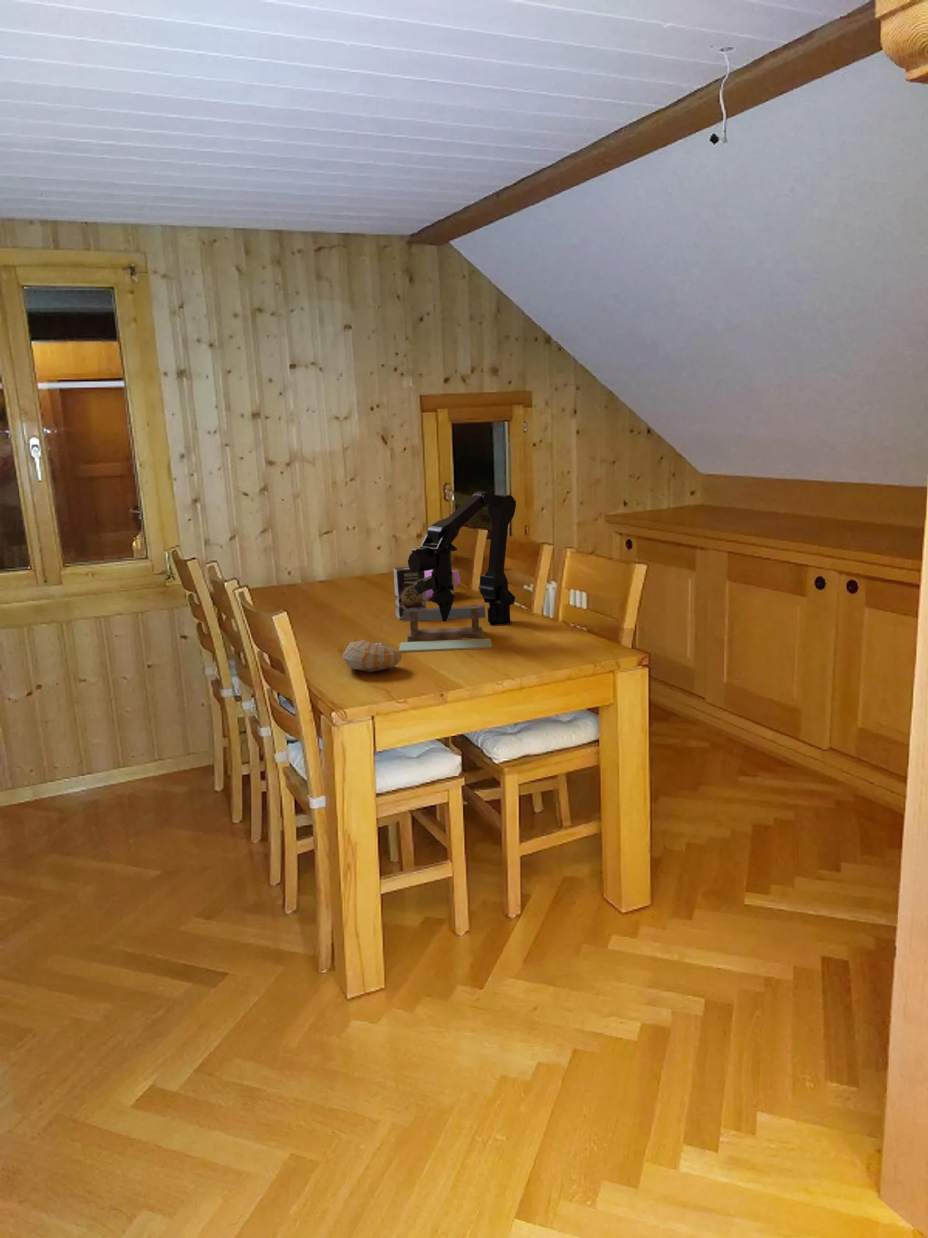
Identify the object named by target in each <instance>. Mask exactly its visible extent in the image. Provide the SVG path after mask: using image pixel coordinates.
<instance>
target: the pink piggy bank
mask: <svg viewBox="0 0 928 1238" xmlns="http://www.w3.org/2000/svg"><path fill="white" fill-rule="evenodd" d="M424 573H425V578H426V577H429V576H432V575H431V573H432V570H428V571H424ZM452 575H453V579H454V580H453V585H454V588H455V587H457V586H458V585H459V584H460V583H461V578H460V575H459V570H458V569H454V570H453V569H452ZM451 591H452V590H451ZM433 593H434V592H433V591H432V589H430V590H427V591H425V596H426V601H429V600H431V599H432V594H433Z"/></svg>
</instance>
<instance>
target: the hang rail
mask: <svg viewBox="0 0 928 1238" xmlns="http://www.w3.org/2000/svg"><path fill="white" fill-rule="evenodd" d="M474 608H478V612H479V619H484V618H485V619H486V606H485V605H478V606H471V605H466V606H452V607H451V610H450V612H449V615H448V618H447V620H462V619H465V620H466V619H472V610H471V609H474ZM410 611H417V621H418V622H420V621H421V622H422V621H438V620H439V621H441V620H442V616H441V612H440V609H439V607H426V608H417V609H403V619H402V621H403V622H410ZM442 621H443V620H442Z"/></svg>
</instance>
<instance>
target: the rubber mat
mask: <svg viewBox="0 0 928 1238" xmlns="http://www.w3.org/2000/svg"><path fill="white" fill-rule="evenodd" d="M480 648H483V649H492V648H493V646H492V640H491V638H475V639H453V640H431V641H409V642H408V641H404V642H400V643H399V648H398V651H400V653H414V652H415V653H417V652H435V651H437V652H439V651H454V650H455V651H458V650H459V651H460V649H461V650H479V649H480Z"/></svg>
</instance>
